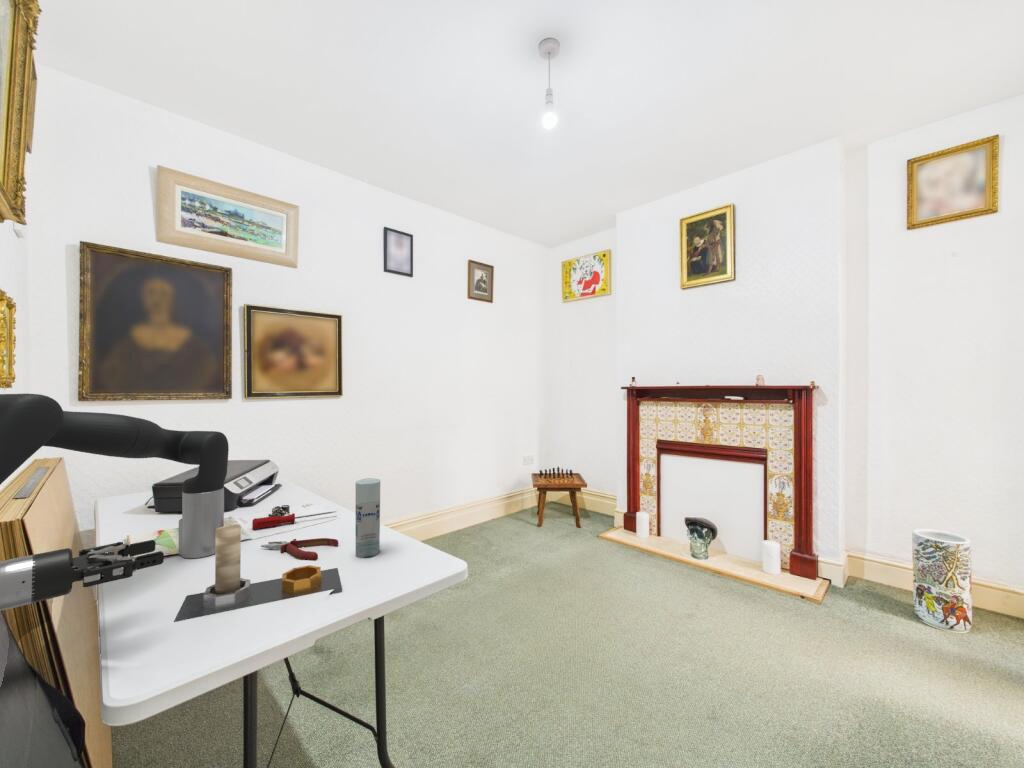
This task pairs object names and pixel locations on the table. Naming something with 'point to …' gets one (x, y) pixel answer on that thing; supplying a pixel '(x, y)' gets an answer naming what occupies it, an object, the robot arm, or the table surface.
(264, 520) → the screwdriver
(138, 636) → the table surface
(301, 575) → the grey board
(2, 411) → the robot arm
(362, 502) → the spray paint can
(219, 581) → the peg
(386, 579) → the table surface
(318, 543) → the pliers
